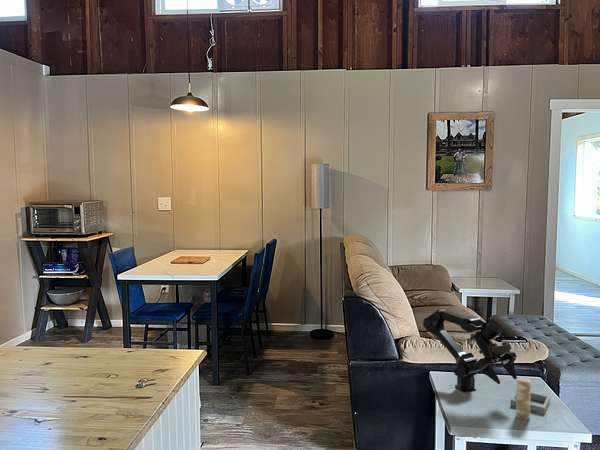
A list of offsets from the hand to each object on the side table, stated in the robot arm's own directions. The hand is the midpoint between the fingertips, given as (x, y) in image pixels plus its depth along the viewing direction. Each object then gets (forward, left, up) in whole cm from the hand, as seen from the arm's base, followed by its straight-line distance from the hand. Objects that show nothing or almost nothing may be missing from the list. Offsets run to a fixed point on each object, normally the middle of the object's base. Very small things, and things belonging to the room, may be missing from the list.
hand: (507, 381), depth 176 cm
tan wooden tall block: (+2, -7, -11) cm, 13 cm away
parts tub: (+12, +1, -11) cm, 16 cm away
